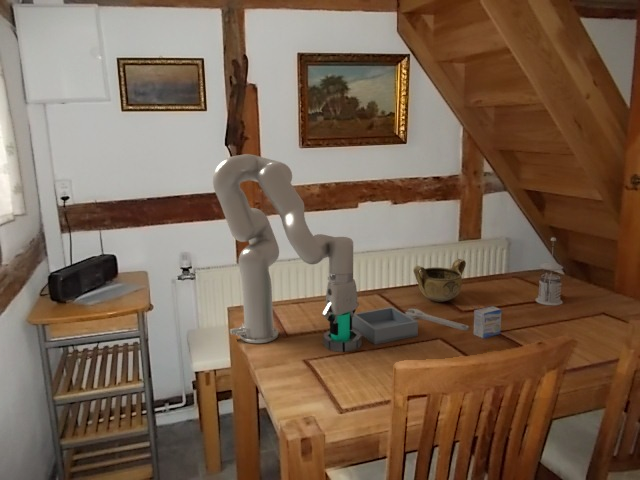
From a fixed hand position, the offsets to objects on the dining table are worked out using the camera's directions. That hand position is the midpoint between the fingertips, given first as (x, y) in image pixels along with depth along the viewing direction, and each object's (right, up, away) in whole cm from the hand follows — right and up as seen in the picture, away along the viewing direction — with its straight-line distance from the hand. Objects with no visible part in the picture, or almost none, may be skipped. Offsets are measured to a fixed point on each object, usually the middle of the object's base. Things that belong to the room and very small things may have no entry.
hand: (341, 330), depth 178 cm
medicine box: (+48, -2, +6) cm, 49 cm away
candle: (0, -4, +1) cm, 4 cm away
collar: (0, -4, +1) cm, 5 cm away
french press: (+81, +5, +36) cm, 88 cm away
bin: (+15, -2, +10) cm, 18 cm away
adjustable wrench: (+33, 0, +19) cm, 38 cm away
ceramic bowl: (+40, +5, +41) cm, 58 cm away
